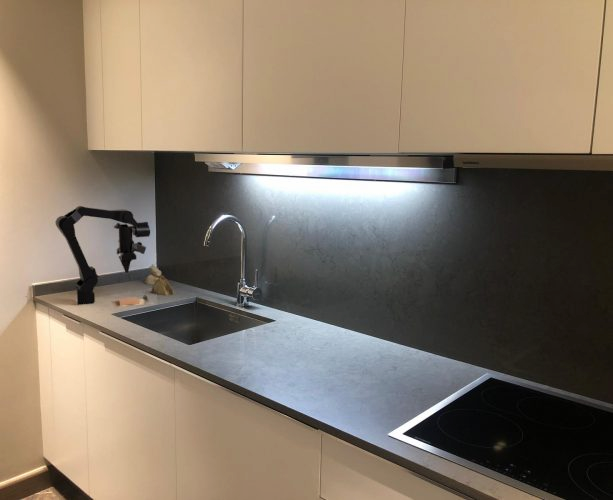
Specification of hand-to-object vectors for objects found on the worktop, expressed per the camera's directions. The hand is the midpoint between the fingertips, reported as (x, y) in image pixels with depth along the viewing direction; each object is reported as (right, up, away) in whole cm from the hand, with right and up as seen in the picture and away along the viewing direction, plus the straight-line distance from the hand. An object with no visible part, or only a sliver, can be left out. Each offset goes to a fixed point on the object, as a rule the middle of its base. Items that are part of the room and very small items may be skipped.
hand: (126, 272), depth 247 cm
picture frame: (+2, -12, -5) cm, 13 cm away
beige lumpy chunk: (+3, -7, +33) cm, 34 cm away
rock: (+13, -11, +11) cm, 20 cm away
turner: (+10, -12, -3) cm, 16 cm away
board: (+4, -13, -7) cm, 16 cm away
